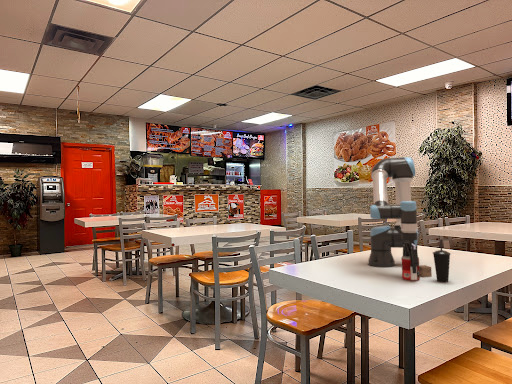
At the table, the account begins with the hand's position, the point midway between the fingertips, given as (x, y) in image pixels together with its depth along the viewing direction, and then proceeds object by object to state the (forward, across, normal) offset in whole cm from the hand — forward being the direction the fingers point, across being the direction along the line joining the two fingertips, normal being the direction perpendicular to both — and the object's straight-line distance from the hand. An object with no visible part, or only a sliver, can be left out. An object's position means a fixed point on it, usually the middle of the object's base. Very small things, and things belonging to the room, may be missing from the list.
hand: (410, 277), depth 177 cm
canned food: (+1, 0, 0) cm, 1 cm away
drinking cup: (+1, +5, +13) cm, 14 cm away
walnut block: (+1, -7, +9) cm, 12 cm away
